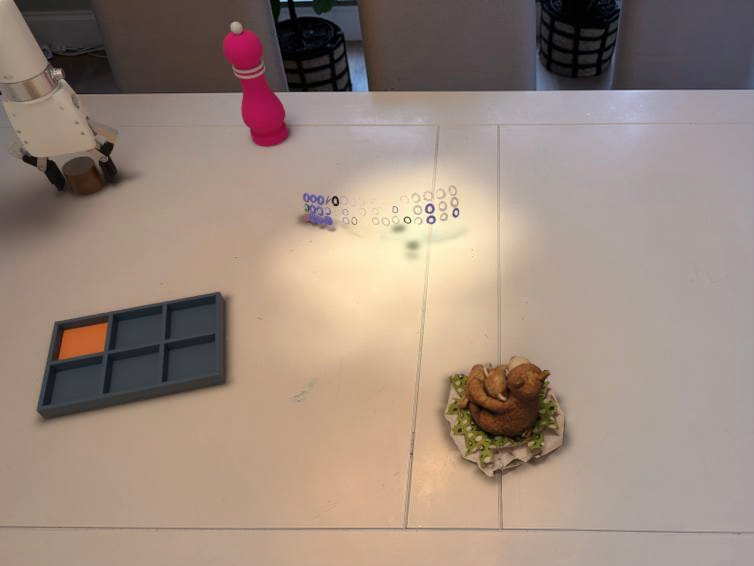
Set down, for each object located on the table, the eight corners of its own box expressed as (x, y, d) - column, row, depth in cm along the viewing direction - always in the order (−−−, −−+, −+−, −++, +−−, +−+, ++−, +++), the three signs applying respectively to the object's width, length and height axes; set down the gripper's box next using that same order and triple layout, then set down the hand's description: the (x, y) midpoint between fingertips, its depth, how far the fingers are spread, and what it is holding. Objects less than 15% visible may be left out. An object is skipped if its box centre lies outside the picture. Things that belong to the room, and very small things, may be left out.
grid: (224, 383, 86) (219, 374, 84) (45, 419, 83) (36, 410, 82) (224, 301, 95) (219, 291, 93) (62, 331, 92) (54, 321, 91)
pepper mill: (291, 122, 121) (259, 8, 105) (291, 145, 117) (257, 30, 101) (250, 127, 121) (212, 14, 105) (249, 151, 116) (209, 36, 100)
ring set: (290, 258, 103) (268, 184, 96) (331, 228, 112) (312, 158, 105) (438, 266, 93) (423, 184, 87) (469, 232, 102) (458, 156, 96)
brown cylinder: (72, 197, 110) (59, 177, 107) (76, 179, 113) (63, 159, 110) (104, 192, 110) (92, 172, 107) (107, 174, 113) (95, 154, 110)
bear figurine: (530, 355, 87) (532, 290, 78) (580, 449, 78) (590, 389, 69) (429, 386, 85) (420, 323, 75) (470, 487, 76) (464, 430, 66)
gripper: (93, 59, 100) (143, 160, 114) (-31, 77, 98) (36, 177, 112) (87, 86, 96) (140, 187, 110) (-43, 105, 94) (28, 205, 108)
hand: (87, 181), depth 111 cm, fingers open, 7 cm apart
